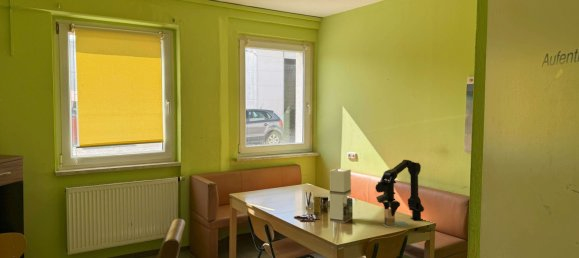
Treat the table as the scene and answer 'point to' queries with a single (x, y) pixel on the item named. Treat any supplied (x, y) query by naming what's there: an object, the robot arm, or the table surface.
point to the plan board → (397, 224)
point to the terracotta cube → (388, 213)
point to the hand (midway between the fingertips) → (389, 214)
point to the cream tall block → (339, 194)
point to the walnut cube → (389, 221)
